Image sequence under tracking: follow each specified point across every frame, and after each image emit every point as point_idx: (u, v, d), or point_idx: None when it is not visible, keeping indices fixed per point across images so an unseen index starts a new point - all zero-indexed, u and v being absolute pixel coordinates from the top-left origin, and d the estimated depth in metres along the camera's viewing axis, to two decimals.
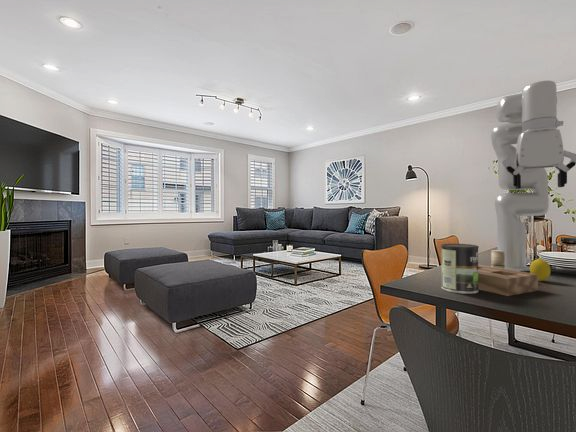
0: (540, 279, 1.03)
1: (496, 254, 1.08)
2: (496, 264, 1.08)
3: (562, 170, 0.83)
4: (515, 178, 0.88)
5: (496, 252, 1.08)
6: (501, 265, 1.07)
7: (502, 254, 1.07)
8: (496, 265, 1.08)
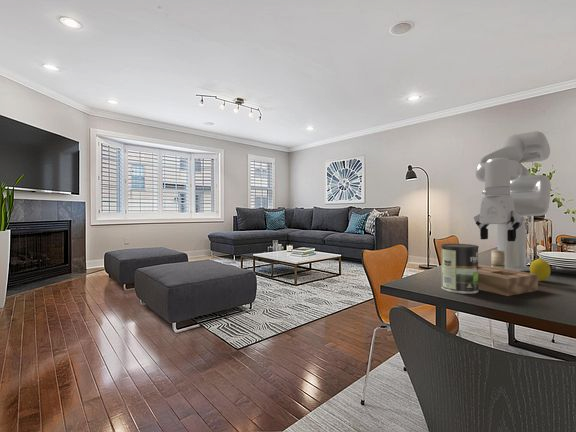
0: (540, 279, 1.03)
1: (496, 254, 1.08)
2: (496, 264, 1.08)
3: (486, 227, 1.14)
4: None
5: (496, 252, 1.08)
6: (501, 265, 1.07)
7: (502, 254, 1.07)
8: (496, 265, 1.08)
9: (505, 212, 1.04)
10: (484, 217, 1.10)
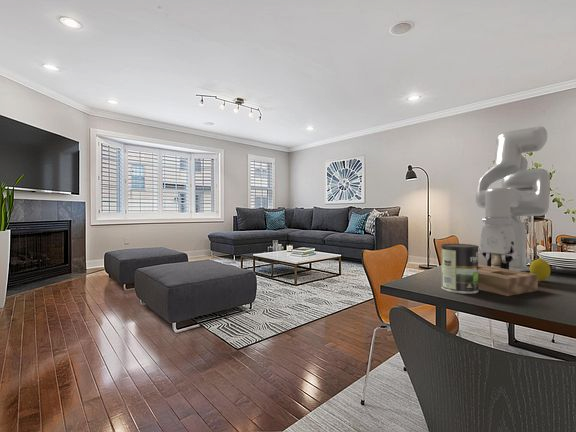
0: (540, 279, 1.03)
1: (496, 254, 1.08)
2: (496, 264, 1.08)
3: None
4: None
5: None
6: None
7: None
8: (496, 265, 1.08)
9: (505, 243, 1.04)
10: (484, 246, 1.11)
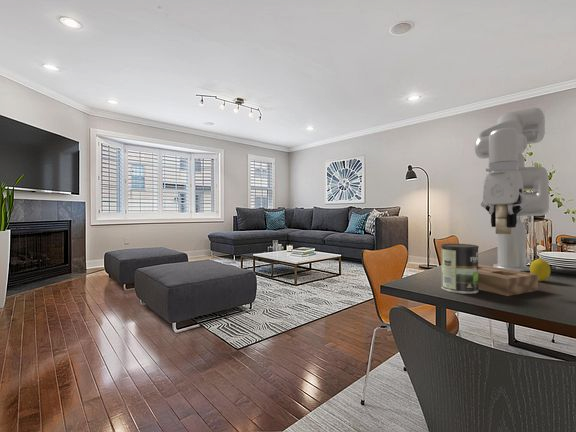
0: (540, 279, 1.03)
1: (501, 205, 0.93)
2: (501, 217, 0.94)
3: None
4: None
5: None
6: None
7: None
8: (501, 218, 0.93)
9: (512, 190, 0.90)
10: (488, 197, 0.96)
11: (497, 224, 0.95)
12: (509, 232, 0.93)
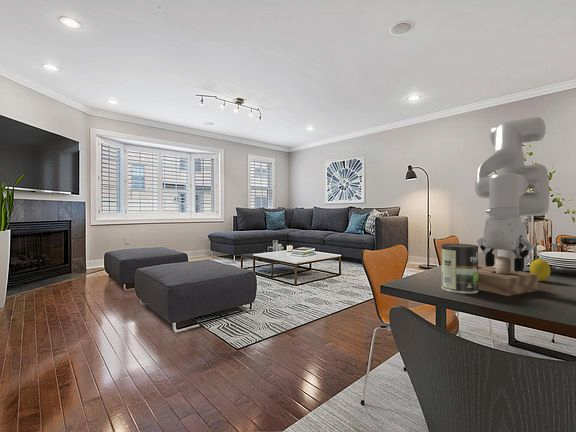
0: (540, 279, 1.03)
1: (501, 261, 0.94)
2: (501, 272, 0.94)
3: (492, 252, 0.99)
4: None
5: (501, 259, 0.94)
6: (507, 274, 0.93)
7: (508, 261, 0.93)
8: (501, 274, 0.94)
9: (513, 237, 0.90)
10: (488, 241, 0.96)
11: None
12: None
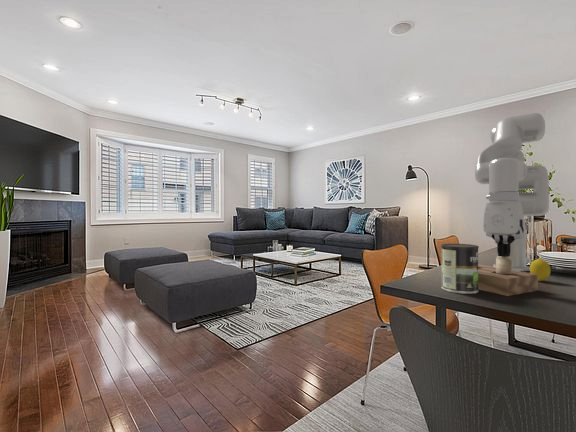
0: (540, 279, 1.03)
1: (502, 261, 0.94)
2: (502, 273, 0.94)
3: None
4: None
5: (502, 259, 0.94)
6: (508, 274, 0.93)
7: (509, 262, 0.93)
8: (502, 274, 0.94)
9: (513, 221, 0.90)
10: (488, 226, 0.96)
11: None
12: None
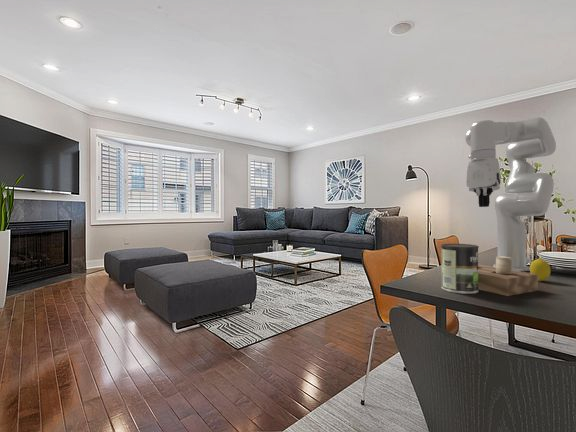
0: (540, 279, 1.03)
1: (501, 262, 0.94)
2: (502, 273, 0.94)
3: None
4: None
5: (502, 259, 0.94)
6: (507, 274, 0.93)
7: (508, 262, 0.93)
8: (502, 274, 0.94)
9: (491, 174, 1.04)
10: (471, 181, 1.11)
11: None
12: None
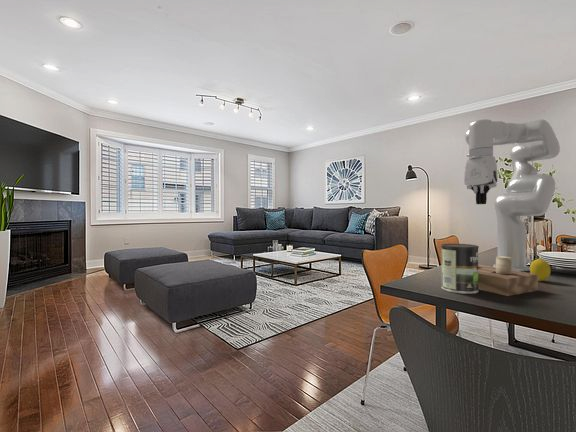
0: (540, 279, 1.03)
1: (501, 262, 0.94)
2: (502, 273, 0.94)
3: None
4: None
5: (502, 259, 0.94)
6: (507, 274, 0.93)
7: (508, 262, 0.93)
8: (502, 274, 0.94)
9: (488, 172, 1.06)
10: (468, 179, 1.13)
11: None
12: None
